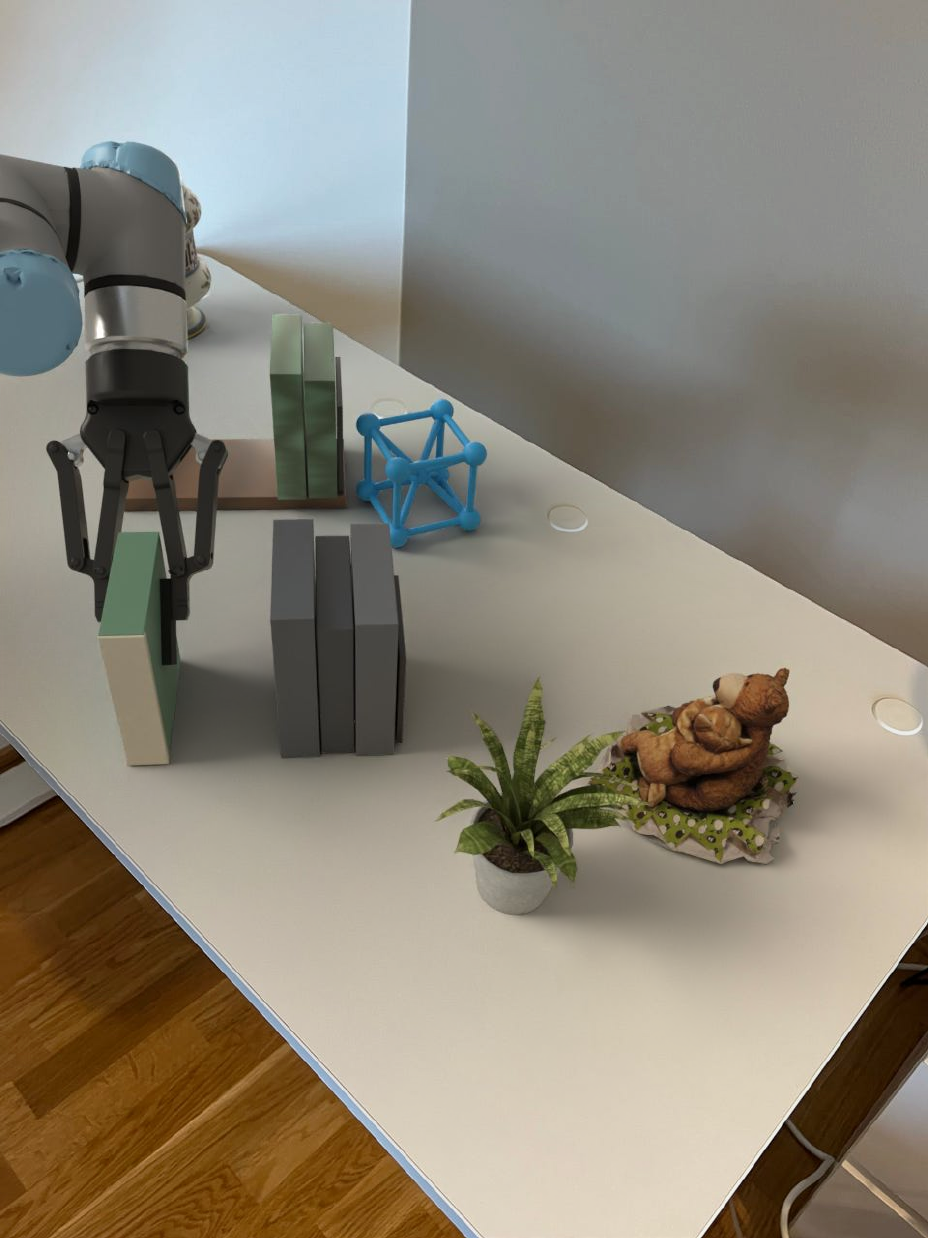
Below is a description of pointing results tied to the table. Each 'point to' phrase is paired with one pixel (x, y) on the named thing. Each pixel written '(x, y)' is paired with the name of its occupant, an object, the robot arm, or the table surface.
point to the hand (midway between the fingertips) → (144, 664)
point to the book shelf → (232, 484)
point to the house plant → (531, 812)
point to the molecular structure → (419, 471)
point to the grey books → (336, 640)
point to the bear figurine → (708, 770)
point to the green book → (138, 650)
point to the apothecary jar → (194, 267)
